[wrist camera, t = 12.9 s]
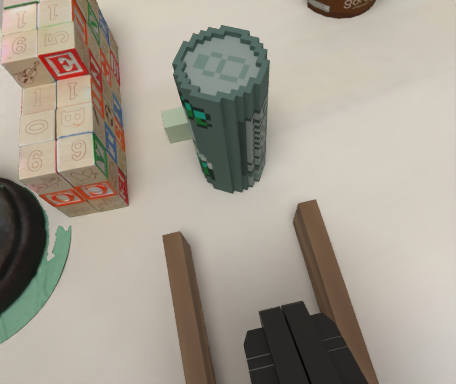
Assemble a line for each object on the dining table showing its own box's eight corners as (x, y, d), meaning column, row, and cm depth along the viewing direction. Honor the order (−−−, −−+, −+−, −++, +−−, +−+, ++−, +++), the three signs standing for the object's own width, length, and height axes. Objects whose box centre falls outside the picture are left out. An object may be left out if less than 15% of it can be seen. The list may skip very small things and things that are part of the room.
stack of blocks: (131, 207, 38) (77, 146, 26) (69, 219, 38) (-11, 163, 26) (117, 46, 46) (72, -54, 35) (67, 55, 46) (5, -41, 34)
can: (215, 132, 40) (194, 19, 26) (270, 147, 39) (278, 37, 25) (195, 182, 38) (160, 87, 24) (252, 199, 37) (250, 110, 23)
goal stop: (170, 143, 40) (164, 128, 37) (167, 127, 41) (161, 111, 38) (262, 122, 40) (262, 105, 37) (257, 107, 41) (257, 89, 38)
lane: (218, 509, 28) (211, 541, 23) (174, 250, 35) (162, 235, 31) (388, 466, 28) (415, 490, 23) (308, 218, 36) (315, 199, 31)
